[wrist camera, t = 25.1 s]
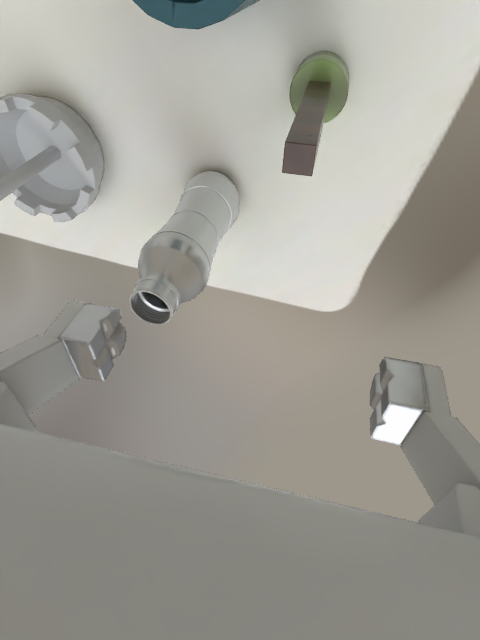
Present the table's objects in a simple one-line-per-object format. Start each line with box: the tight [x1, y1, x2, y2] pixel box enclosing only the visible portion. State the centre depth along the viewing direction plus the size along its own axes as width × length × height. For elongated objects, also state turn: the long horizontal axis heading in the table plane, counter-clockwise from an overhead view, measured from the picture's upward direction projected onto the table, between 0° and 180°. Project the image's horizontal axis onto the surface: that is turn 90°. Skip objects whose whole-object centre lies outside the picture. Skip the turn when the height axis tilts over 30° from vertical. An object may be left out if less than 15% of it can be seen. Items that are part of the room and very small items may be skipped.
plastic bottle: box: [129, 171, 240, 325], centre depth 37 cm, size 6×7×20 cm
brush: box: [282, 51, 349, 176], centre depth 28 cm, size 5×5×18 cm
